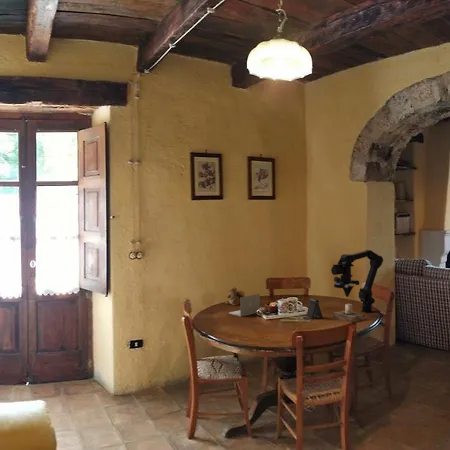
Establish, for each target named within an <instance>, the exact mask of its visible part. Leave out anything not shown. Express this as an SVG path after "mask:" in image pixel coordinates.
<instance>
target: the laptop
mask: <svg viewBox="0 0 450 450" xmlns="http://www.w3.org/2000/svg"><path fill="white" fill-rule="evenodd" d="M260 299H261V298H260V293H256V294H250V295H245V296H244V297H240V304H239V305H240V306H239V310H235V311H230V312H229V314H230V315H233V316H238V317H245V316H248V315H252V314H253V315H254V314H257V313H256V311H257V310H258V309H260V308H261V304H260V302H261V301H260ZM260 310H261V309H260Z"/></svg>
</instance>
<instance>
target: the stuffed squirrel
mask: <svg viewBox="0 0 450 450" xmlns="http://www.w3.org/2000/svg"><path fill="white" fill-rule="evenodd" d="M227 292H228V293H229V294H227V295H226V298H227V299H228V301H225V302H224V303H225V305H232V306H234V307H235V306H238V305H240V297H245V296H246V292H245V291H244V290H239V288H238V287H236V286H231V287H230V288H229V290H228V291H227Z"/></svg>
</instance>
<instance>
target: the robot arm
mask: <svg viewBox="0 0 450 450" xmlns="http://www.w3.org/2000/svg"><path fill="white" fill-rule="evenodd" d="M364 258H367V259H368V260H369V266H370V267H369V271H368V274H367V277H366V280H365V282H364V286H363V287H362V288H361V287H360V289H359V292H358V298H359V300H360V302H361V303H362V306H361V310H360V312H364V313H367V314H368V313H374V312H375V310H373V304H375V302H376V300H375V299H374V297H373V291H372V288H373V285H374V282H375V279H376V276H377V273H378V269H380V267H381V266H382V265H383V263H384V258H383V257H382V256H381V255H379V254H377V253H375V252H374V251H373V250H371V249H365V250H363V251H359V252H356V253H346V254H341V255H340V258H339V260H338V261H337V264H335V263H334V264H332V267H331V269H330V271H331V274H332V275H333V276H334V277H333V282H334V285H333V288H337V289H342V290H343V292H344V295H345V297H346V298H348V297H350V296H349V295H350V293H351V291H352V290H353V288H354V285H356V286H359V285H360V281H359V280H357V279H352V277H353V274H352V267H354V264H352V263H354V262H355V261H356V260H360V259H364ZM337 275H340V277H338V276H337Z"/></svg>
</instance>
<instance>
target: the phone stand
mask: <svg viewBox="0 0 450 450" xmlns="http://www.w3.org/2000/svg"><path fill="white" fill-rule="evenodd" d="M319 301H320V300H319V299H315V298H309V304H308V308H307V312H306V315H307V316H308V317H309V318H308V319H309V320H310V319H311V320H315V319H322V318H323V313H322V311H321V308H320V305H319V304H320V302H319Z"/></svg>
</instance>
